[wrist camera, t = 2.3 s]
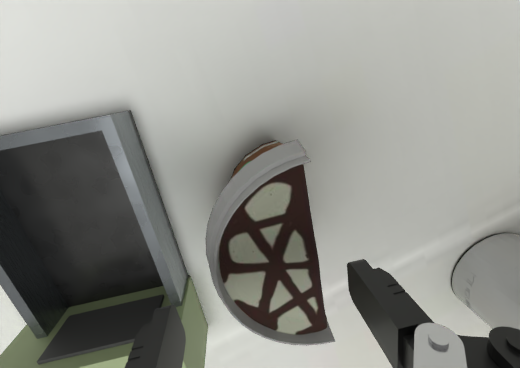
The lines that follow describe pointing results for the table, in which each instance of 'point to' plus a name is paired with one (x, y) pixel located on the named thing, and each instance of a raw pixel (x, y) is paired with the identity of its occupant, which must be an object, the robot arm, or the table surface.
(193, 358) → the pale green rectangular block
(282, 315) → the food container
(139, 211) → the gray open tray
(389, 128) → the table surface
